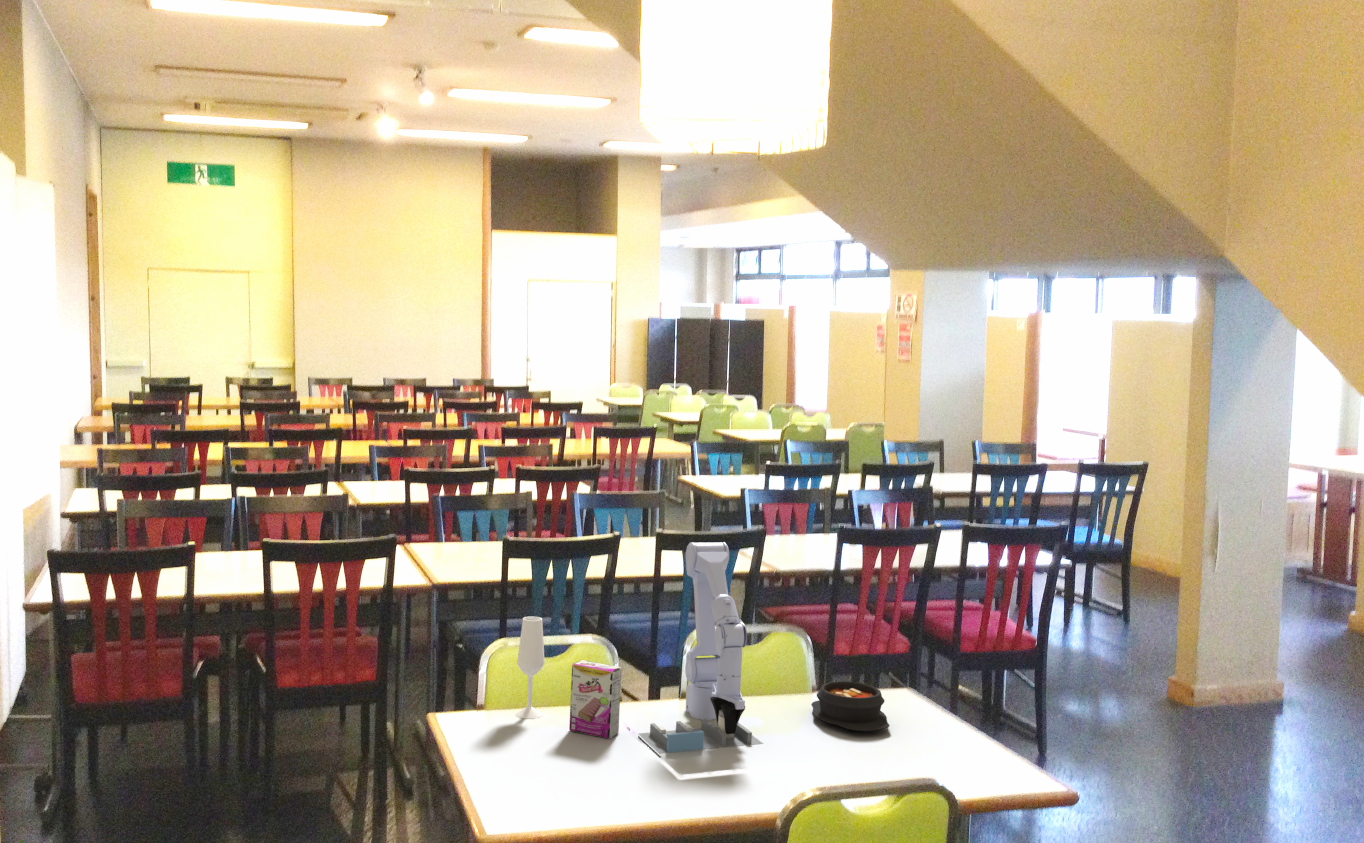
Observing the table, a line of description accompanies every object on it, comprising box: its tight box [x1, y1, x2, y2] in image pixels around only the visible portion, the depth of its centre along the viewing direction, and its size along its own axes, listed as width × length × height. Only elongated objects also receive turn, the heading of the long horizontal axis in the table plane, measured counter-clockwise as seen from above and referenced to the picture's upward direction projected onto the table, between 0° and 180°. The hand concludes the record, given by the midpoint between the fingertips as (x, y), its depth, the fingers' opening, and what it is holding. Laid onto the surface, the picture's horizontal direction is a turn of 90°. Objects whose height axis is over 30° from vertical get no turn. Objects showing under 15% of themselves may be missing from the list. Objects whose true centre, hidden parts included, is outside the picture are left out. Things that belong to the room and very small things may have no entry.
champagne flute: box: [515, 616, 546, 720], centre depth 297 cm, size 7×7×24 cm
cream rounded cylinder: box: [717, 709, 735, 739], centre depth 285 cm, size 4×4×6 cm
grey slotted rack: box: [637, 719, 764, 759], centre depth 283 cm, size 14×26×5 cm, turn 112°
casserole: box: [811, 680, 890, 732], centre depth 304 cm, size 25×19×8 cm
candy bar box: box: [569, 659, 622, 740], centre depth 286 cm, size 11×5×16 cm, turn 65°
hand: (726, 730), depth 285 cm, fingers closed on cream rounded cylinder, 4 cm apart
